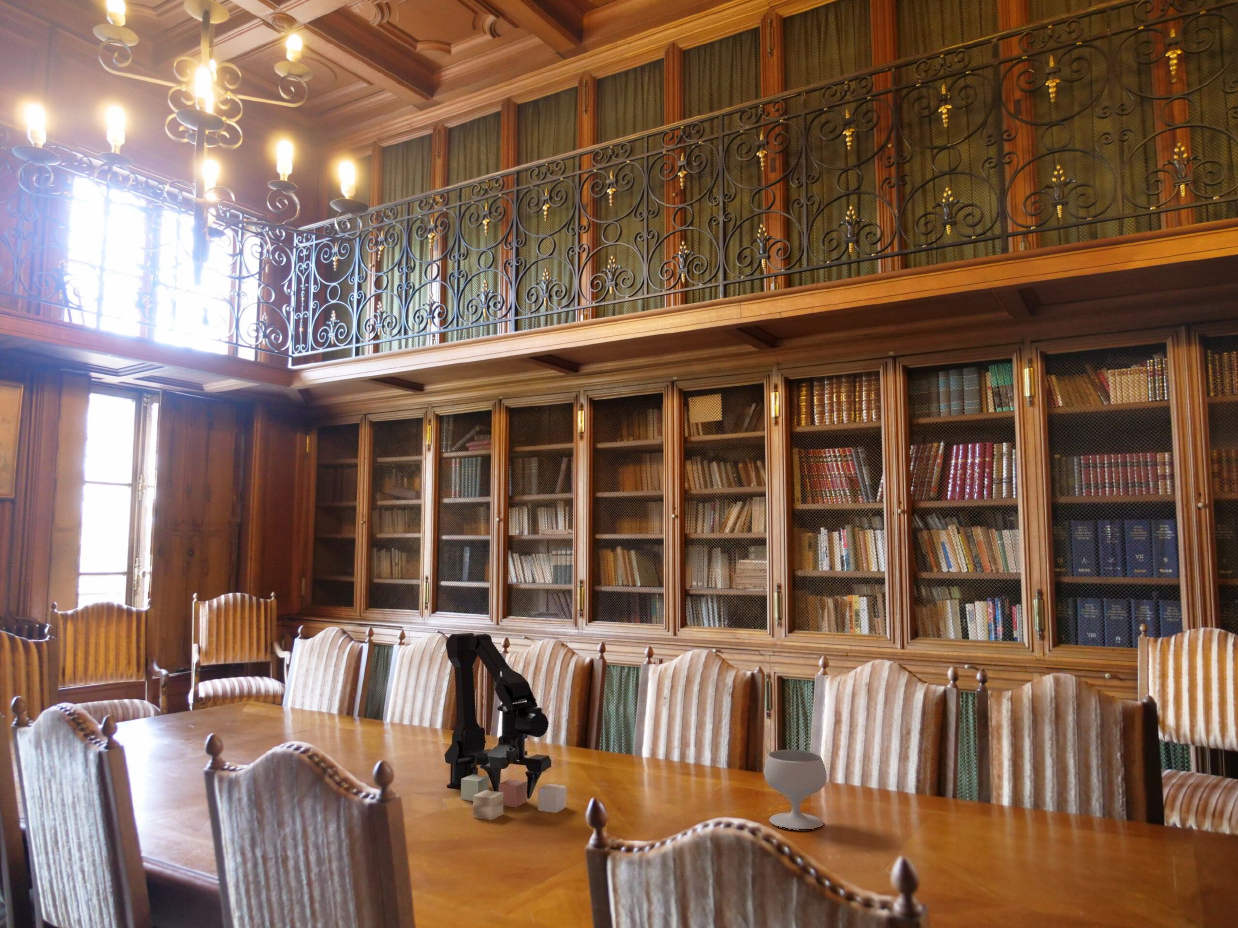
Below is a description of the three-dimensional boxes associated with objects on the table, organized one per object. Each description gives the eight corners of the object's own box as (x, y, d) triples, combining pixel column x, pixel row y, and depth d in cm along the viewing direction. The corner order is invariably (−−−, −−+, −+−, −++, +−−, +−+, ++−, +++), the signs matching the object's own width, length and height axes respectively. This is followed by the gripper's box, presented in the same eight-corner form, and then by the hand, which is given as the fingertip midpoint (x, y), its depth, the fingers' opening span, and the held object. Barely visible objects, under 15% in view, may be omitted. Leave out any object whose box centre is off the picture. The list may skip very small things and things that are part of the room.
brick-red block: (498, 804, 204) (498, 783, 205) (509, 799, 209) (509, 778, 209) (516, 807, 202) (516, 786, 203) (526, 801, 207) (526, 780, 207)
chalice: (830, 817, 195) (828, 750, 196) (824, 836, 182) (823, 764, 183) (770, 811, 199) (769, 746, 201) (760, 829, 186) (759, 759, 188)
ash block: (473, 817, 194) (473, 795, 195) (484, 811, 199) (485, 789, 199) (491, 820, 192) (491, 797, 193) (502, 814, 197) (503, 792, 197)
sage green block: (460, 799, 209) (461, 778, 209) (472, 794, 213) (472, 774, 214) (477, 801, 207) (478, 780, 207) (488, 796, 211) (489, 776, 212)
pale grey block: (537, 810, 200) (538, 788, 200) (547, 804, 204) (548, 783, 205) (556, 813, 198) (556, 791, 198) (566, 807, 202) (566, 785, 203)
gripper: (463, 733, 204) (461, 800, 202) (529, 740, 196) (529, 809, 195) (488, 725, 214) (487, 788, 212) (552, 731, 207) (552, 797, 205)
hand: (512, 796), depth 206 cm, fingers open, 9 cm apart
